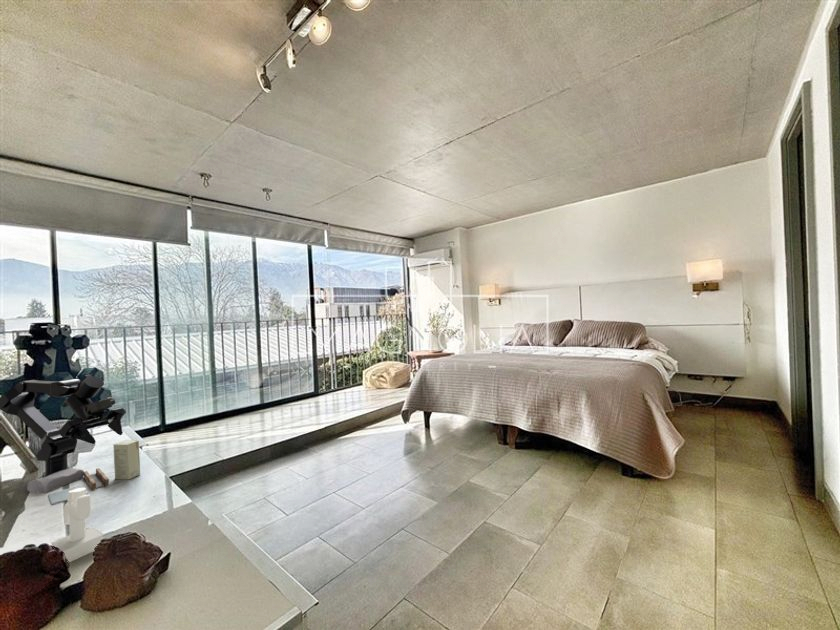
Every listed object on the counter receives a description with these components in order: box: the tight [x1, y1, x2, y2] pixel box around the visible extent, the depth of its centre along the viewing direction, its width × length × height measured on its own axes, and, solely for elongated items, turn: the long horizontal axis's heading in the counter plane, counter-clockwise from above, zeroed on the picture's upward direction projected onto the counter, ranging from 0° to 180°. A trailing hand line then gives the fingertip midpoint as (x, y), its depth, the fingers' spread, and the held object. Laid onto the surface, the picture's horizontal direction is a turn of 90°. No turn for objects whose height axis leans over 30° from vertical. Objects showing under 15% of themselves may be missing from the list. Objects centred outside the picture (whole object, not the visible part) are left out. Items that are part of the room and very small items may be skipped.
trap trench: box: [83, 467, 110, 490], centre depth 121 cm, size 16×4×2 cm, turn 51°
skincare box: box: [113, 440, 141, 480], centre depth 124 cm, size 6×4×12 cm
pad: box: [47, 484, 89, 506], centre depth 112 cm, size 10×8×1 cm
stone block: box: [26, 467, 85, 493], centre depth 120 cm, size 12×5×10 cm
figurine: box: [50, 487, 105, 563], centre depth 82 cm, size 7×9×15 cm
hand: (108, 438), depth 125 cm, fingers open, 9 cm apart
